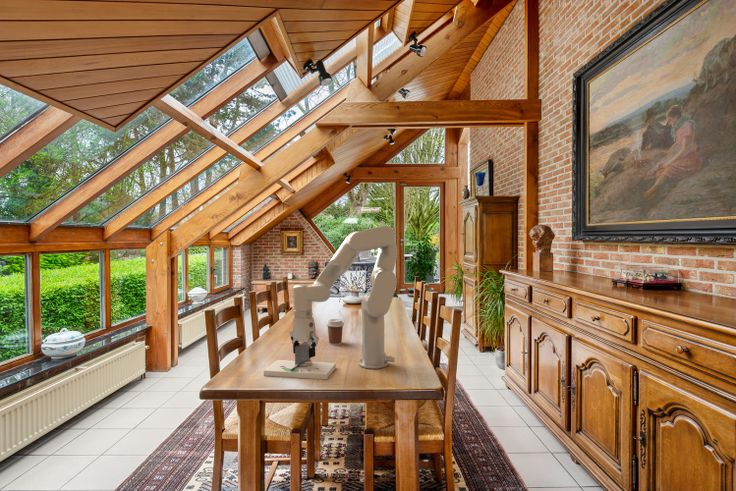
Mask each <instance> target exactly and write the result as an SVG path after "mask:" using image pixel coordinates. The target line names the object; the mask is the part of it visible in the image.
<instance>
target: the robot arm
mask: <svg viewBox="0 0 736 491" xmlns="http://www.w3.org/2000/svg"><path fill="white" fill-rule="evenodd" d="M395 240H396V231H395V229H393V227H391V226H389V225H378V226H376V227H372V228H368V229H363V230H356V231H351V232H350V233H349V234H348V235H347V236H346V237H345V239H344V240H343V242H342V243H341V244H340V246H339V247H338V249H337V251H335V253H334V255H333V256H332V258H331V259H330V260H329V261H328V263H327V264H326V266H324V268H323V269H322V271H321V273H320V274H319V275H318V276H317V278H316V280H314V282H313V284H312V285H310V284H308V283H299V284H296V285H295V284H294V286H293V290H292V291H293V292H292V293H293V294H292V295H293V319H292V320H293V321H292V330H291V331H289V332H288V333H289V336H290V340H291V343H292V349H293V350H292V352H293V354H294V355H295V347H296V346H298V345H300V344H301V343H304V342H305V343H308V345H309V347H310V348H309V349H308V350H309V358H314V357H316V347H317V346H318V343H319V340H320V339H319V338H320V337H319V336H318V335H317V330H316V324H315V319H314V317H313V315H314V314H313V303H314V302H315V303H324V302H327V301H328V300H330V297H331V288H332V287H333V286H334V284H335V283H336V281H338V279H339V278H340V277H342V275H344V274H345V273H346V272H348V270H350V268H351V267H352V265H353V264H354V262H355V261H356V260H357V258H358V257H359V255H360V253H362V252H367V251H371V250H375V249H377V255H376V259H375V261H374V266H373V269H372V272H371V274H370V284H371V285H372V286H371V290H370V291H367V292H365V294H364V295H363V296H362V298H361V304H360V305H361V317H362V322H361V324H362V325H361V326H362V328H361V330H362V332H361V333H362V334H361V335H362V339H361V340H362V344H361V345H362V349H361V350H362V356H361V357H362V359H360V360H359V361H358V365H359V366H360V367H361V368H365V369H370V370H371V369H383V368H385V367H387V366H388V365H389V362H391V363H395V359H396V358H395V357H393V356H391V355H387V353H386V352H385V316H386V314H388V312H389V310H390V308H391V304H392V302H393V298H394V295H395V292H396V288H397V283H398V280H397V276H396V273H395V272H394V270H395V266H396V262H397V258H398V248H397V243H396V241H395ZM300 342H301V343H300Z"/></svg>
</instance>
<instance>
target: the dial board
mask: <svg viewBox="0 0 736 491" xmlns="http://www.w3.org/2000/svg"><path fill="white" fill-rule="evenodd" d="M294 367H296V366H295V360H287V359H277V360H275V361H274V362H272V364H270V365H269V366H267V368H265V369H264V370H263V376H267V377H281V378H284V377H285V378H297V379H298V378H299V379H301V378H302V379H311V380H312V379H313V380H314V379H316V380H327V379H328V378H330V376H331V375H332V373H333V372H334V370H335V369H336V367H337V364H336V362H326V361H325V362H324V361H312V364H311V365H309V366H304V367H298V368H296V369H294V370H293V371H291V369H292V368H294Z"/></svg>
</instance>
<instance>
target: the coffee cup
mask: <svg viewBox="0 0 736 491" xmlns="http://www.w3.org/2000/svg"><path fill="white" fill-rule="evenodd" d="M325 324H326V327H327V333H328V334H327V335H328V345H330V346H340V345H341V344H342V342H343V340H342V339H343V326H345V323H344V322H343V320H342V319H340V318H332V319H331V318H330V319H329V320H328V322H327V323H325Z"/></svg>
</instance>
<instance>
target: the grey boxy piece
mask: <svg viewBox="0 0 736 491" xmlns="http://www.w3.org/2000/svg"><path fill="white" fill-rule="evenodd" d="M309 348H310V347H309V345H308V343H305V342H301V343H300V345H298V346H296V347H295V354H294V361H295V366H296V367H294V368H292V369H291V371H293V370H294V369H296V368H298V367H304V366H309V365H311V364H312V362H313V361H312V360H311V358H312V357H311V358H309V350H308V349H309Z"/></svg>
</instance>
